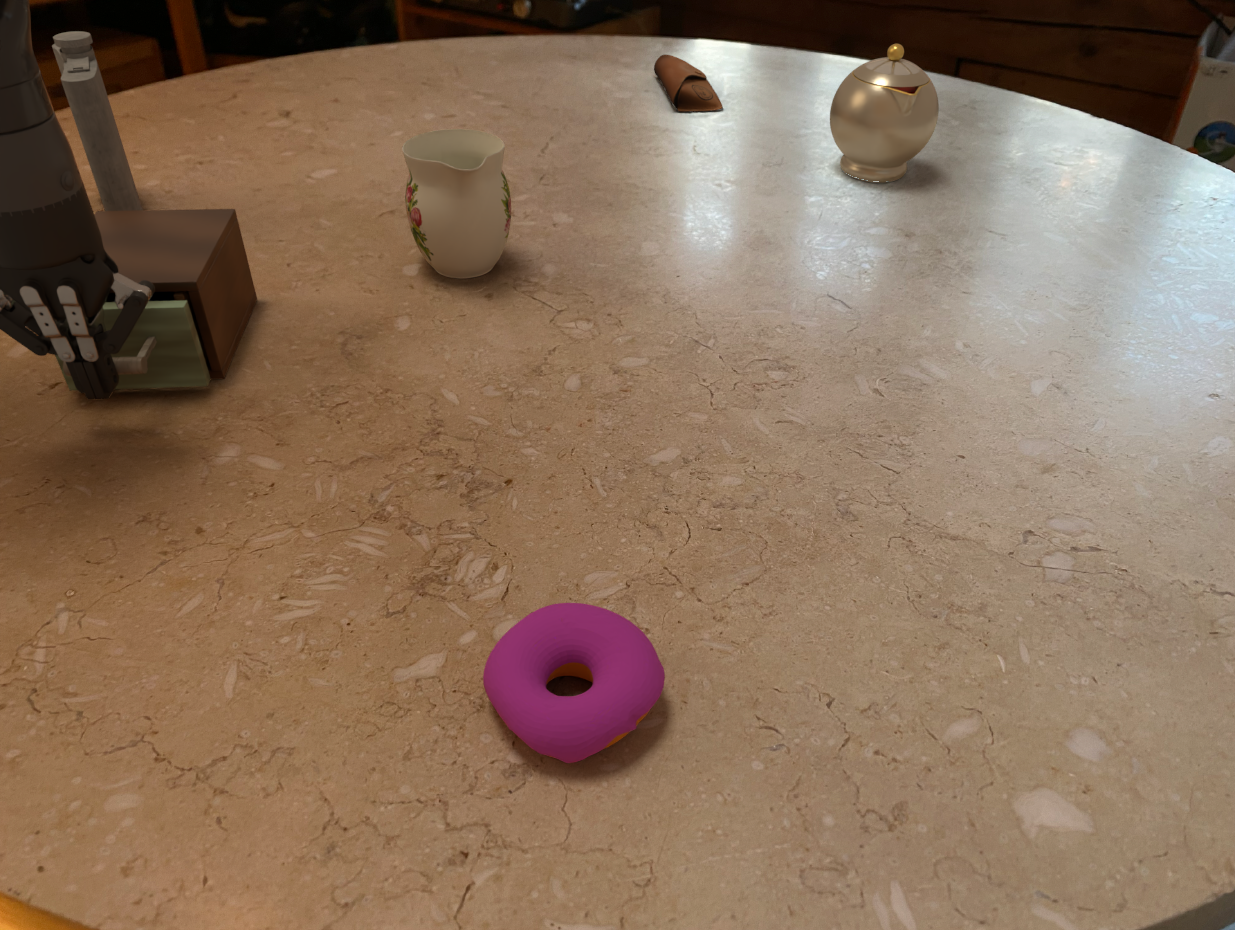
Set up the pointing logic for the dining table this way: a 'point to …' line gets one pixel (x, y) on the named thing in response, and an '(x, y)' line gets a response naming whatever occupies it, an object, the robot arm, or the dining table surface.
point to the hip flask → (95, 121)
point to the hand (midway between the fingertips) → (101, 393)
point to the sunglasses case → (686, 85)
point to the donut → (581, 649)
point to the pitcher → (458, 199)
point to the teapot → (883, 117)
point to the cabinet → (189, 268)
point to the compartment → (157, 347)
